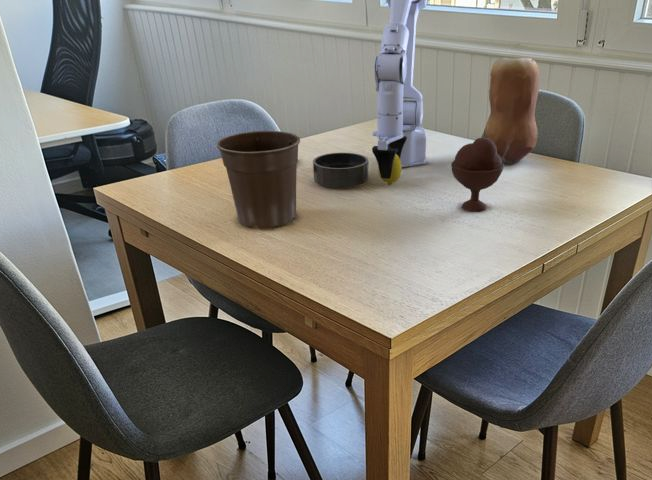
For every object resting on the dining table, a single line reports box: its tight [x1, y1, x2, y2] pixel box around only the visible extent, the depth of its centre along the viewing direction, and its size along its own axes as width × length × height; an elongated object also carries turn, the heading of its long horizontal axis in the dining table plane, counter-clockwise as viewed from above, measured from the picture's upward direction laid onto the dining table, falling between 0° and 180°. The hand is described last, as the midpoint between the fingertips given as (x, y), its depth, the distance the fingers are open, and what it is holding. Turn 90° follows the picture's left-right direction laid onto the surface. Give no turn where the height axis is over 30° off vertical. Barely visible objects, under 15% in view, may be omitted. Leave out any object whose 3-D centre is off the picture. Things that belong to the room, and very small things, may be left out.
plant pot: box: [216, 130, 301, 229], centre depth 126 cm, size 16×16×16 cm
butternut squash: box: [483, 57, 540, 164], centre depth 155 cm, size 14×13×25 cm
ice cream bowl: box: [450, 137, 505, 213], centre depth 130 cm, size 11×11×15 cm
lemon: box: [377, 154, 403, 186], centre depth 145 cm, size 6×6×8 cm
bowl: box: [312, 152, 370, 189], centre depth 149 cm, size 13×13×5 cm
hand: (389, 173), depth 146 cm, fingers open, 7 cm apart
